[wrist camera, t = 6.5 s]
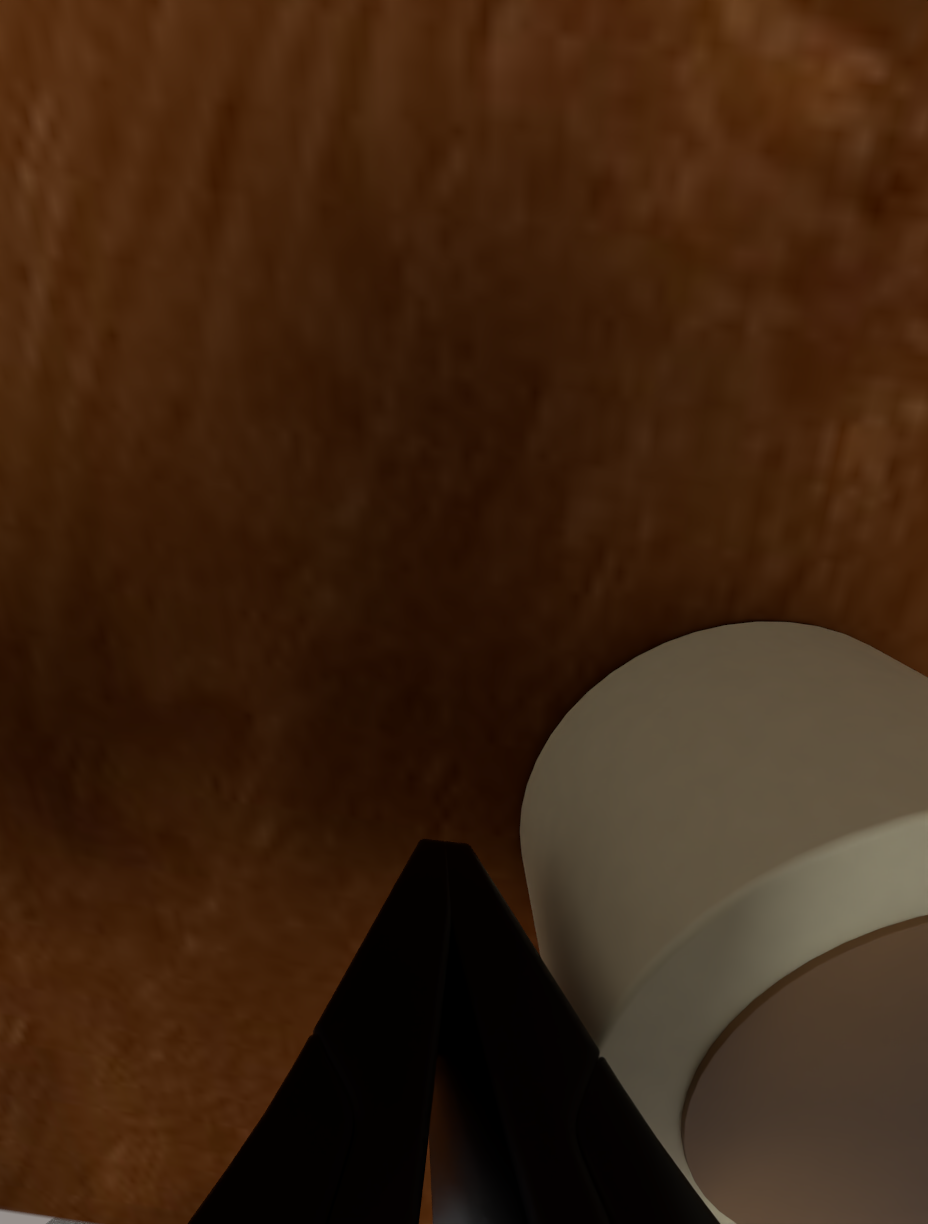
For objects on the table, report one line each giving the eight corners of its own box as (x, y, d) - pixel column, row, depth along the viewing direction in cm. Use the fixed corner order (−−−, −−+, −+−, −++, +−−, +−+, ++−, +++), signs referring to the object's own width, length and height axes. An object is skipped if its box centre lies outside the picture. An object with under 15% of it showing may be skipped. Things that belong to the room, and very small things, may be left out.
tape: (797, 1006, 13) (995, 1337, 8) (458, 920, 12) (471, 1252, 7) (1027, 701, 11) (1484, 928, 6) (631, 553, 9) (820, 696, 5)
